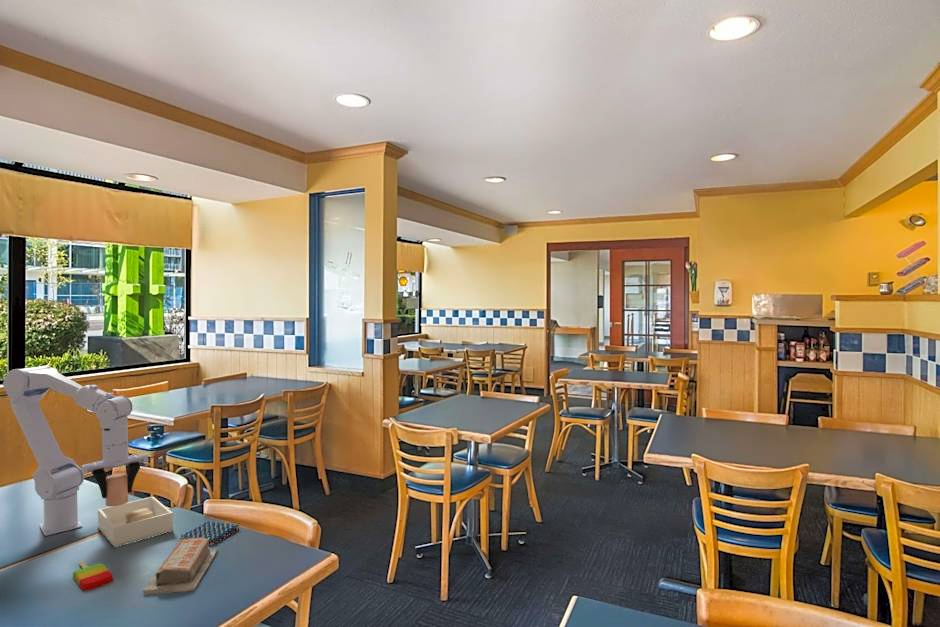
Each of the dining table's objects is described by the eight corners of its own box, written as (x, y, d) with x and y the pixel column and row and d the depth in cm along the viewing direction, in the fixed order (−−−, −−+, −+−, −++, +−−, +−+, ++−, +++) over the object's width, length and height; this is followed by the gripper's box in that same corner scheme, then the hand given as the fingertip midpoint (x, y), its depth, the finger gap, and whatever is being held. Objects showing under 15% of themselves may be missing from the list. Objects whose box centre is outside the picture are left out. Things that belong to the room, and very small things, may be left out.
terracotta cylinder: (104, 502, 143) (103, 476, 143) (126, 498, 147) (125, 472, 147) (107, 507, 140) (106, 480, 139) (130, 502, 143) (129, 476, 143)
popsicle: (84, 594, 113) (83, 585, 113) (66, 571, 123) (66, 562, 123) (114, 584, 117) (114, 575, 117) (95, 562, 127) (95, 554, 127)
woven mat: (207, 527, 146) (207, 519, 146) (241, 531, 143) (241, 523, 143) (177, 543, 136) (177, 535, 136) (213, 548, 133) (212, 540, 133)
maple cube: (125, 532, 141) (125, 513, 140) (147, 526, 144) (147, 507, 144) (131, 538, 137) (130, 518, 137) (153, 531, 141) (152, 512, 141)
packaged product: (172, 537, 129) (217, 533, 130) (173, 557, 129) (217, 553, 131) (141, 574, 111) (194, 569, 113) (142, 598, 111) (194, 592, 113)
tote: (98, 527, 145) (97, 509, 145) (153, 513, 154) (153, 496, 154) (114, 548, 133) (113, 527, 133) (173, 531, 142) (172, 512, 142)
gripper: (84, 451, 135) (86, 505, 135) (150, 440, 145) (151, 491, 145) (79, 446, 140) (81, 498, 140) (143, 436, 150) (144, 485, 151)
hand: (116, 494), depth 143 cm, fingers closed on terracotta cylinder, 5 cm apart
